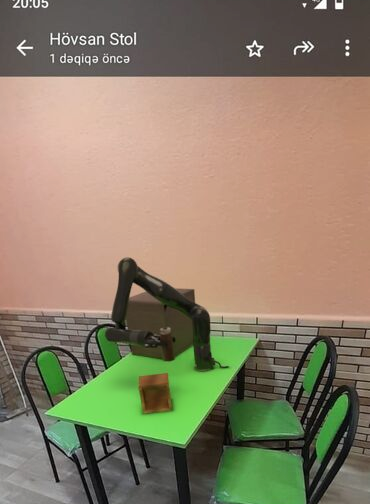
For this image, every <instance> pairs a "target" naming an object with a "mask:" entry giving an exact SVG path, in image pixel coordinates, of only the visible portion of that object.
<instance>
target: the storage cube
mask: <svg viewBox="0 0 370 504" xmlns="http://www.w3.org/2000/svg"><path fill="white" fill-rule="evenodd" d="M174 288H175V289H176V290H178V291H179V292H180V293H181V294H183V295H184V296H185V297H186V298H188V299H189V300H191V301H192V302H194V303H196V295H195V289H194V288H176V287H174ZM125 323H126V329H131V330H144V331H151V332H152V333H153V334H154V335H160V329H161V328H164V327H169V328H171V332H172V337H175V338H176V342H173V347H174V357H175V358H176V357H177V356H178V357H179V355H181V354H182V353H184V352H185V351H187V350H188V349H190V348H191V347H194V346H193V326H192V320H191V319H190V318H189V317H188V316H187V315H185V314H184V313H182V312H181V311H179V310H177V309H174V308H171V307H169V306H167V305H165V304H163V303H162V302H160V301H158V300H157V299H156V298H154V297H153V296H151V295H150V294H149V293H148V292H146V291H143V292H140V293H138V294H135V295H132V296H130V297H129V303H128V310H127V315H126V320H125ZM129 345H130V350H131V355H134V356H141V357H147V358H151V359H159V360H163V355H162V347H157V348H145V347H141V346H136V345H131V344H129Z"/></svg>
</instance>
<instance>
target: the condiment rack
mask: <svg viewBox="0 0 370 504" xmlns="http://www.w3.org/2000/svg"><path fill="white" fill-rule="evenodd" d="M138 392H139V398H140V403H141V408H142V414H153V413H161V412H170V411H173V404H172V394H171V386H170V380H169V373H168V372H165V373H164V372H163V373H155V374H147V375H146V374H145V375H139V376H138Z"/></svg>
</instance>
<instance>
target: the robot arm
mask: <svg viewBox="0 0 370 504" xmlns="http://www.w3.org/2000/svg"><path fill="white" fill-rule="evenodd" d="M117 273H118V279H117V282H118V283H117V289H116V292H115V297H114V301H113V304H112V310H111V316H110V320H111V322H112V323H114V324H115V325H114V326H115V327H107V329H106V330H105V331H104V338H105V340H106V341H108V342H109V343H117V344H118V343H122V344H126V345H130V344H131V345H136V346H141V347H145V348H157V347H161V346H163V347H168V346H169V345H168V342H165V341H161V339H160V335H154V334H153V333H152V332H151V331H144V330H131V329H128V328H127V322H126V315H127V310H128V303H129V297H131V291H132V288H133V284H134V285H136V286H138V287H139V288H141V289H142V290H144V292H148V293H149V294H150V295H151V296H153V297H154V298H156V299H157V300H158V301H160V302H162V303H163V304H165V305H167V306H169V307H171V308H174V309H177V310H179V311H181V312H182V313H184V314H185V315H187V316H188V317H189V318H190V319H191V320H192V326H193V346H192V347H193V357H194V369H195V370H196V371H199V372H207V371H210V370H213V366H216V364H218V366H219V368H221V369H228V368H229V366H230V365H226V366H222V365H221V363H220V362H219V361H216V360H215V358H214V357H213V353H212V345H211V343H212V342H211V329H212V328H211V316H210V313H209V311H208V309H206V307H204V306H203V305H200V304H198V303H197V302H195V303H194V302H192V301H191V300H189V299H188V298H186V297H185V296H184V295H183V294H181V293H180V292H179V291H178V290H176V289H175V288H176V287H174V286H172V285H171V284H170V283H168V282H166V281H164V280H162V279H161V278H158V277H157V276H154V275H152V274H149V273H148V272H146V271H145V270H144V269H142V268H141V267H140V266H139V265H138V263H137V261H135V259H134V258H131V257H128V256H127V257H124V258H122V259H120V260H119V262H118V264H117ZM172 338H173V342H176V338H175V337H172ZM131 345H130V346H131Z"/></svg>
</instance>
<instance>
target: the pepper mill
mask: <svg viewBox="0 0 370 504" xmlns="http://www.w3.org/2000/svg"><path fill="white" fill-rule="evenodd" d="M160 339H161V341H165V342H168V345H169V346H168V347H163V346H161V347H162V355H163V359H162V360H163V361H164V362H172V361H174V360H176V359H175V358H176V357H174V347H173V338H172V332H171V328H169V327H164V328H161V329H160Z"/></svg>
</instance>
